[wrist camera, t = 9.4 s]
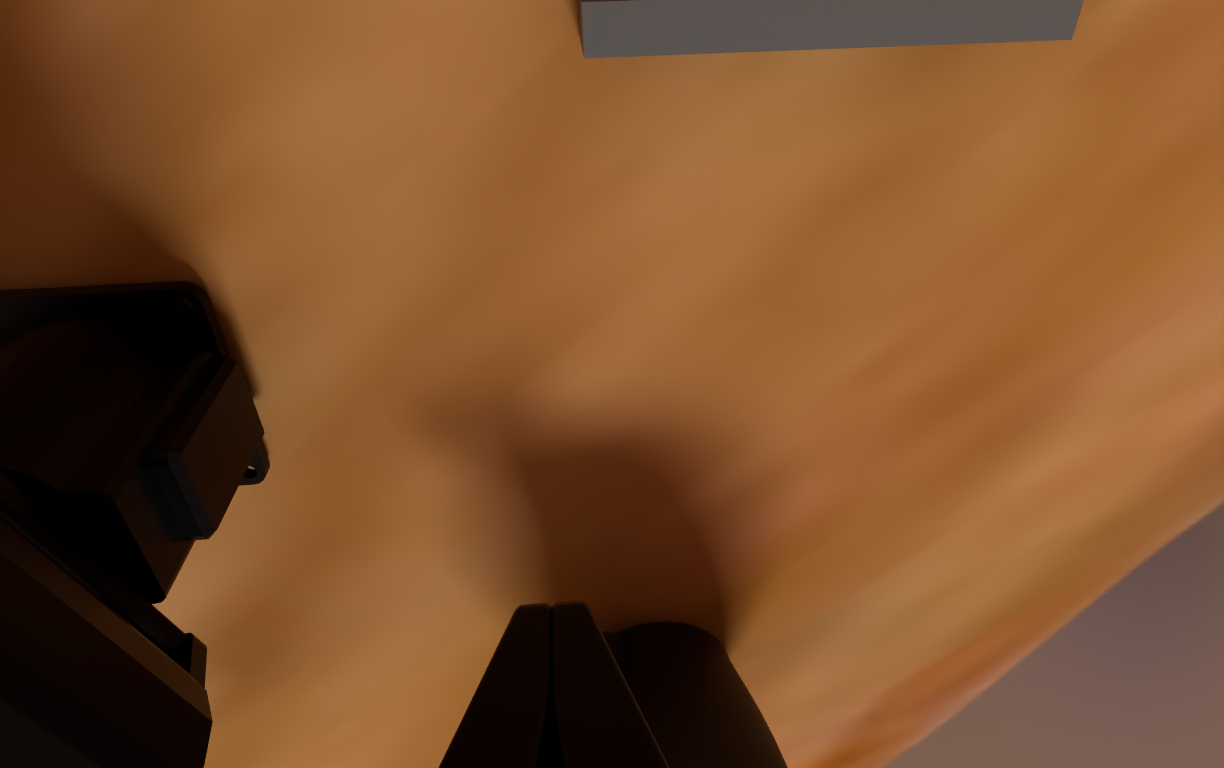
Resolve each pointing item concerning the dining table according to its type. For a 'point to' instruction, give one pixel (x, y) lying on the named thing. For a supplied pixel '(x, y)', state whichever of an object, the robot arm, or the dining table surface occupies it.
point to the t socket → (812, 24)
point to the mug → (693, 698)
